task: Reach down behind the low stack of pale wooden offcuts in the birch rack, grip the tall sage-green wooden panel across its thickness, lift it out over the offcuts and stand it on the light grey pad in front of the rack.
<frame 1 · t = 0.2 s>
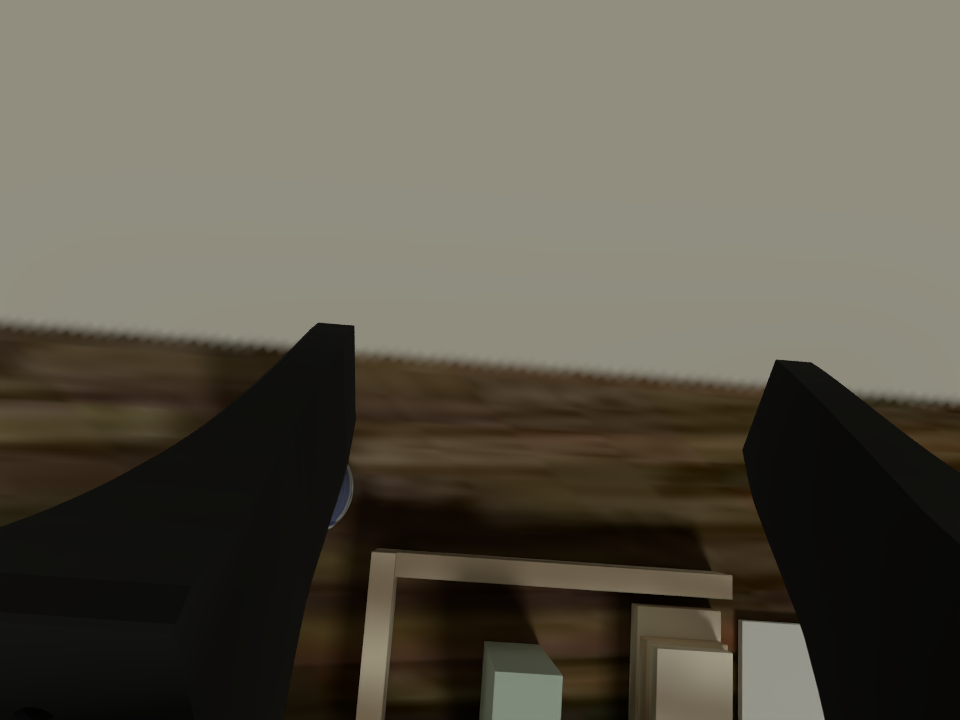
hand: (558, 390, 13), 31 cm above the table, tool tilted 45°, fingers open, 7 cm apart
pill bottle: (306, 487, 43), on the table
green panel: (507, 711, 41), resting in rack
rack: (563, 715, 41), on the table
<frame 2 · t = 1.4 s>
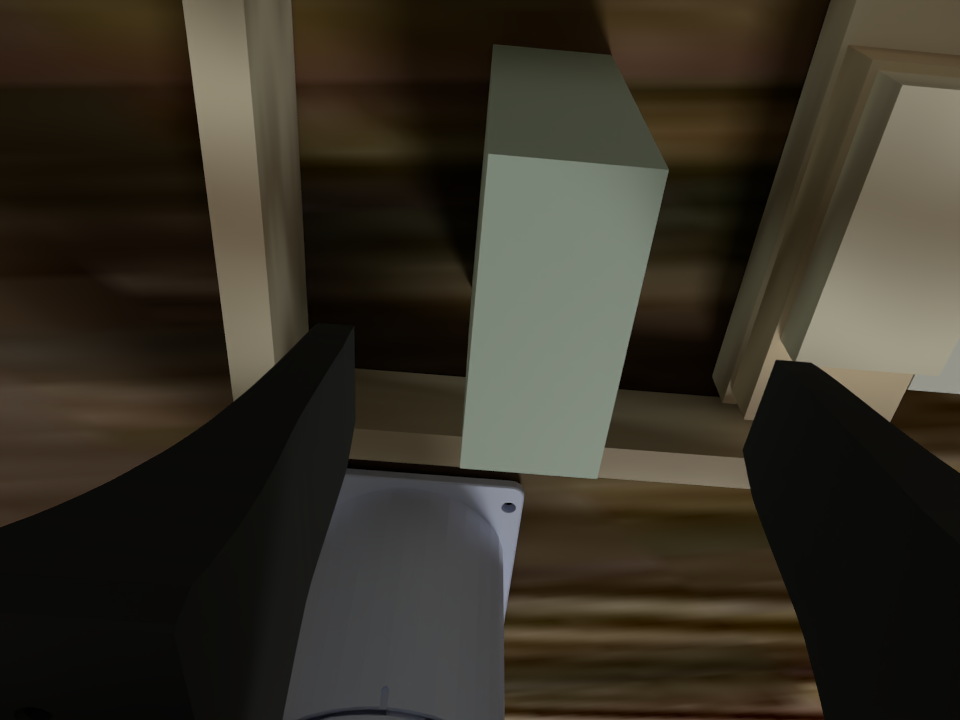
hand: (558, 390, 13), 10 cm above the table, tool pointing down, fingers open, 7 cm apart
green panel: (535, 182, 21), resting in rack
rack: (642, 192, 21), on the table
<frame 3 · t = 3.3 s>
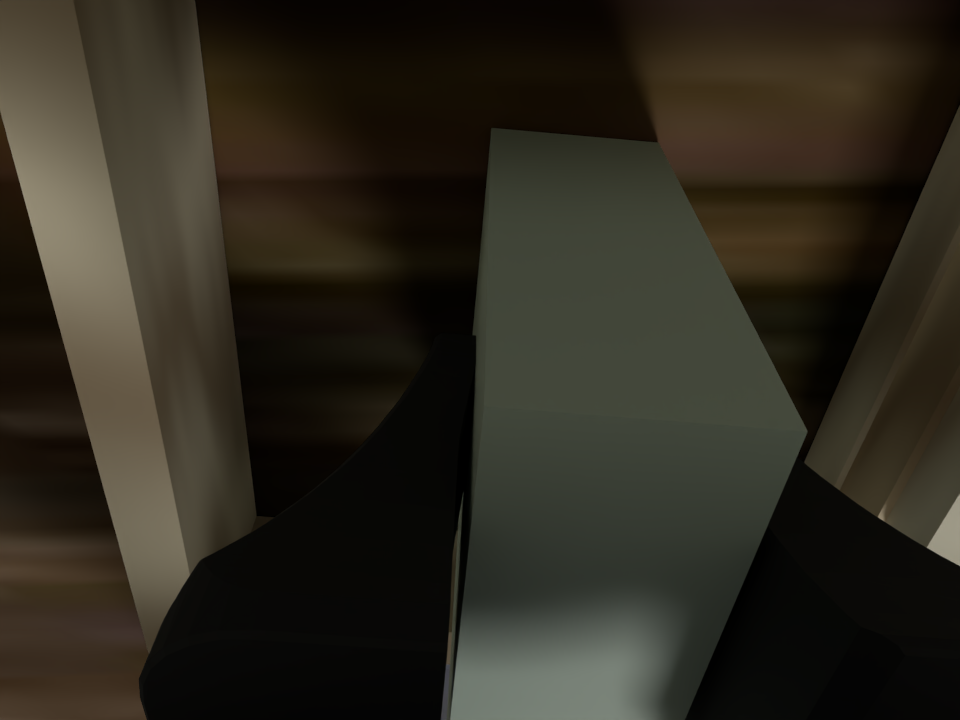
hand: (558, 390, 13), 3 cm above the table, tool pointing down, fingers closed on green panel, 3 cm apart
green panel: (549, 304, 16), resting in rack, touching gripper
rack: (694, 317, 16), on the table
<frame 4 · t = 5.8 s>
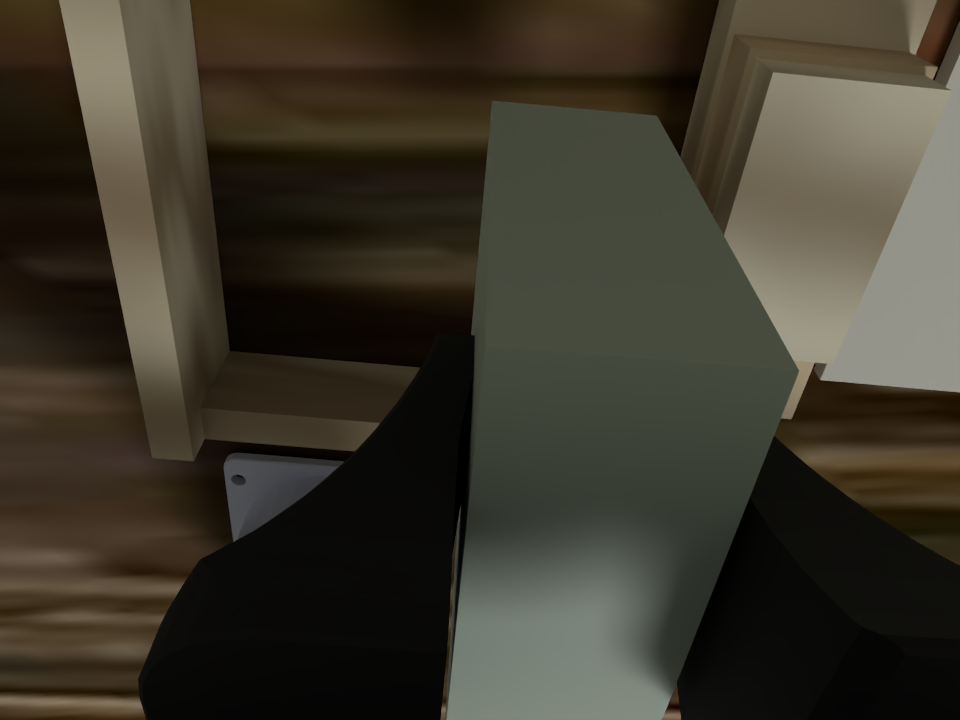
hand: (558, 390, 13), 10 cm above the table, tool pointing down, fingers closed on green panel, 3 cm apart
green panel: (548, 278, 16), point 7 cm above the table, touching gripper
rack: (548, 180, 21), on the table
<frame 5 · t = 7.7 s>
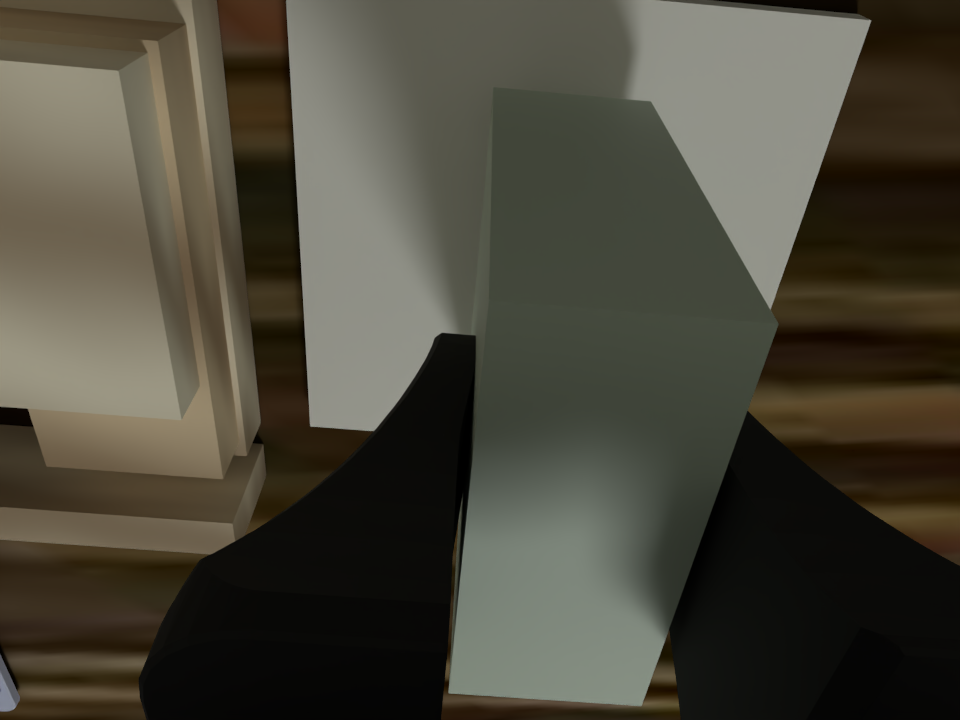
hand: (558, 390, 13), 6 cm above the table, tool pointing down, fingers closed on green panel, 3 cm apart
grey pad: (541, 246, 18), on the table
green panel: (547, 259, 16), point 1 cm above the table, touching gripper
when the fingers open (5 cm above the table, at t = 8.6 s): green panel stays where it is, resting on grey pad.
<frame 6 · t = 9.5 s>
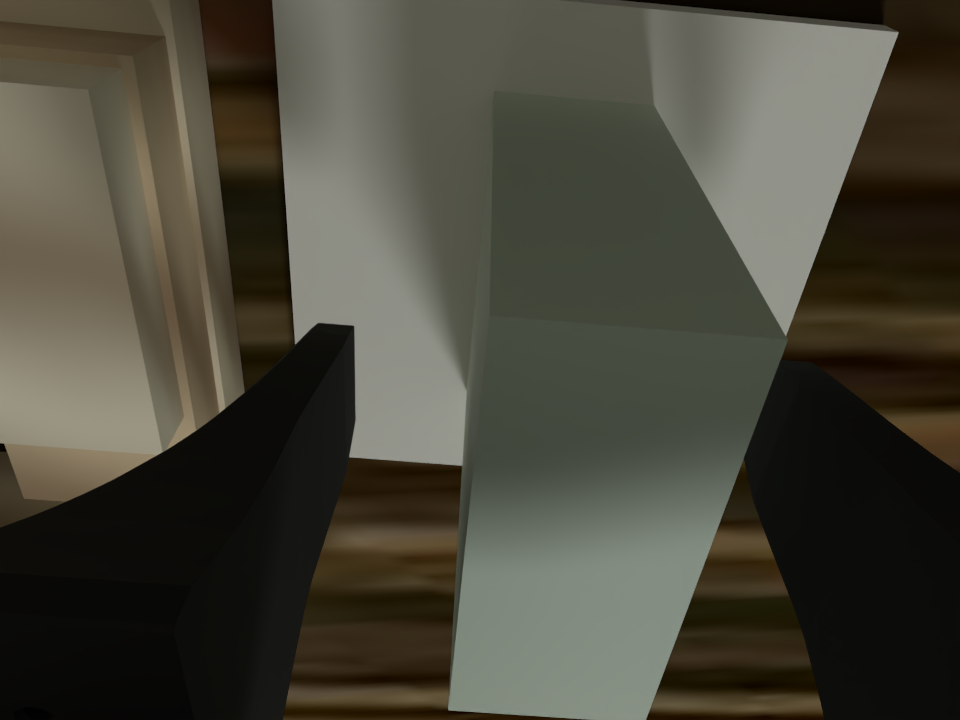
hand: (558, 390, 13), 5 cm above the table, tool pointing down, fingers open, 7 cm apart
grey pad: (545, 267, 17), on the table
green panel: (549, 265, 16), point 1 cm above the table, touching grey pad
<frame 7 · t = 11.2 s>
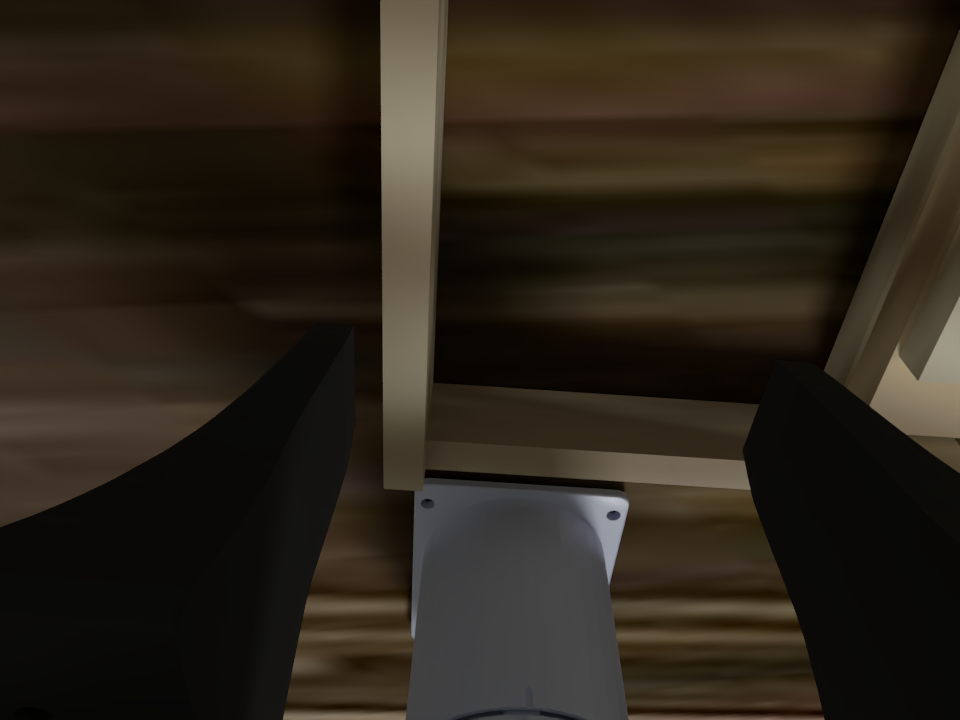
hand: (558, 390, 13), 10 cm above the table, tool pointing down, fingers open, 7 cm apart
rack: (763, 218, 22), on the table
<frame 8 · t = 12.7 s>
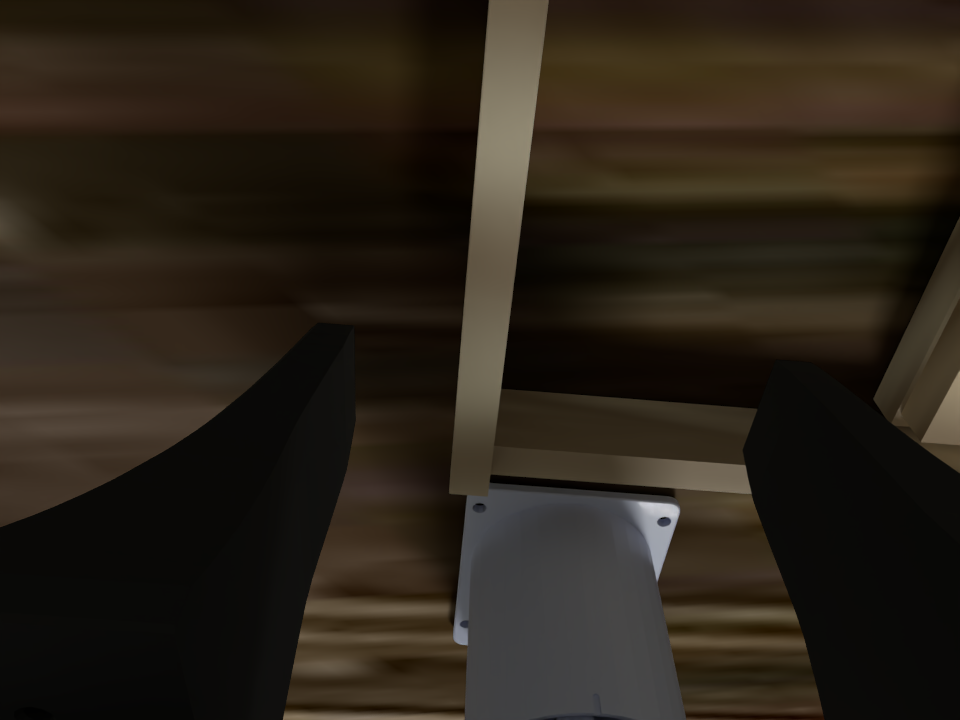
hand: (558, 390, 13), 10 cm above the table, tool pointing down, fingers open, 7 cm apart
rack: (833, 229, 23), on the table
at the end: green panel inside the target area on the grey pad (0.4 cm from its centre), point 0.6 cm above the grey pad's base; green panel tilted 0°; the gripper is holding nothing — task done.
